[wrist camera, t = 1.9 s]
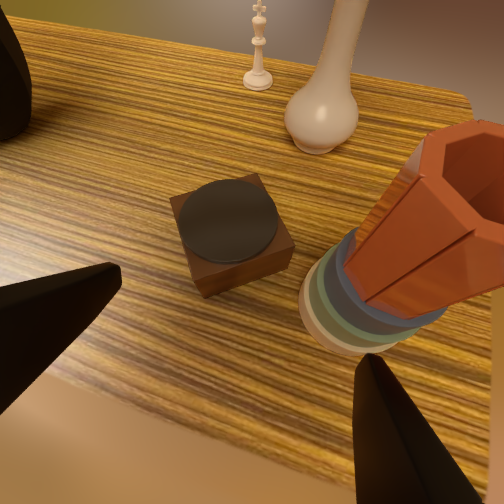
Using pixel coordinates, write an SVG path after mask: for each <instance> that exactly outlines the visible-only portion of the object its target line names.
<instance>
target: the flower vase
mask: <svg viewBox="0 0 504 504" xmlns="http://www.w3.org/2000/svg"><path fill="white" fill-rule="evenodd" d="M368 3H369V0H335V2H334V6H333V10H332V14H331V18H330V22H329V26H328V30H327V34H326V38H325V42H324V46H323V49H322V53H321V56H320V59H319V62H318V64H317V66H316V69H315V71H314V72H313V74H312V76H311V78H310V79H309V81H308V82H307V83H306V84H305V85H304V86H303V87H301V88H300V89H299V90H298V91H297V92H296V93H295V94H294V95H293V96H292V97H291V98H290V100H289V102H288V104H287V107H286V109H285V112H284V123H285V126H286V128H287V131H288V133H289V134H290V135H291V137H292V138H293V141H294V143H295V145H296V146H297V147H298V148H299V149H300V150H302V151H304V152H306V153H309V154H325V153H327V152H330V151H331V150H332V149H334V148H335V146H338V145H340V144H342V143H343V142H345V141H346V140H347V139H349V138H350V137H351V136H352V134H353V133H354V131H355V130H356V128H357V123H358V117H359V110H358V106H357V102H356V99H355V97H354V96H353V94H352V92H351V86H350V72H351V65H352V60H353V55H354V52H355V48H356V44H357V41H358V37H359V34H360V30H361V26H362V23H363V20H364V16H365V13H366V9H367V6H368Z"/></svg>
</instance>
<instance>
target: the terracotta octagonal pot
mask: <svg viewBox="0 0 504 504" xmlns="http://www.w3.org/2000/svg"><path fill="white" fill-rule="evenodd" d="M343 267H344V269H343V270H344V272H345V274H346V275H347V277H348V279H349V280H350V282H351V284H352V285H353V287H354V289H355V290H356V292H357V294H358V295H359V297H360V299H361V300H362V302H364V301H366V305H369V306H371V307H374V308H376V309H378V310H381V311H383V312H386V313H388V314H391V315H393V316H396V317H398V318H401V319H403V320H406V319H407V320H411V319H414V318H416V317H419V316H422V315H425V314H428V313H430V312H433V311H436V310H439V309H442V308H445V307H447V306H450V305H453V304H456V303H459V302H461V301H464V300H467V299H470V298H473V297H476V296H478V295H481V294H484V293H487V292H490V291H492V290H495V289H498V288H501V287H504V125H501V124H497V123H493V122H489V121H484V120H478V121H476V120H469V121H466V122H463V123H459V124H456V125H452V126H449V127H445V128H442V129H439V130H435V131H432V132H429V133H428V134H427V135H426V136H425V137H424V138H423V139H422V141H421V142H420V144H419V145H418V146H417V148H416V149H415V151H414V152H413V153H412V155H411V156H410V157H409V159H408V160H407V162H406V163H405V164H404V166H403V167H402V169H401V170H400V171H399V173H398V174H397V175H396V177H395V178H394V180H393V181H392V182H391V184H390V185H389V187H388V188H387V189H386V191H385V192H384V193H383V195H382V196H381V198H380V199H379V200H378V202H377V203H376V205H375V206H374V207H373V209H372V210H371V211H370V213H369V214H368V216H367V217H366V218H365V220H364V221H363V223H362V224H361V225H360V227H359V228H358V229H357V231H356V232H355V234H354V235H353V236H352V238H351V240H350V243H349V246H348V250H347V253H346V256H345V260H344V263H343Z"/></svg>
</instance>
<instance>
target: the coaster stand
mask: <svg viewBox="0 0 504 504" xmlns="http://www.w3.org/2000/svg"><path fill="white" fill-rule="evenodd" d="M169 199H170V202H171V206H172V209H173V213H174V216H175V220H176V223H177V227H178V230H179V234H180V237H181V240H182V244H183V247H184V251H185V254H186V258H187V261H188V265H189V268H190V272H191V275H192V279H193V281H194V283H195V285H196V286H197V288H198V289H199V291H200V293H201V294H202V296H203V298H204V299H205V298H208V297H210V296H213V295H216V294H219V293H221V292H224V291H227V290H230V289H232V288H235V287H238V286H241V285H243V284H246V283H249V282H252V281H254V280H257V279H260V278H263V277H266V276H268V275H271V274H274V273H277V272H279V271H282V270H285V269H288V266H289V263H290V260H291V257H292V254H293V251H294V248H295V244H294V242H293V240H292V238H291V236H290V235H289V233H288V231H287V229H286V227H285V225H284V223H283V221H282V219H281V218H280V216H279V214H278V212H277V208H276V206H275V204H274V202H273V200H272V199H271V197H270V196H269V195H268V193H267V191H266V189H265V187H264V185H263V183H262V182H261V180H260V178H259V176H258V174H257V173H255V174H251V175H248V176H244V177H241V178H237V179H225V180H218V181H214V182H211V183H208V184H206V185H204V186H202V187H200V188H198V189H197V190H195V191H192V192H188V193H185V194H181V195H178V196H174V197H171V198H169Z"/></svg>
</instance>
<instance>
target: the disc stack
mask: <svg viewBox="0 0 504 504" xmlns="http://www.w3.org/2000/svg"><path fill="white" fill-rule="evenodd" d="M359 227H360V226H359ZM359 227H357V228H355V229H353V230H352V231H350V232H349V233H348V234H347V235H346V236H345V237H344V238H343V239H342V241H341V242H340V243H337V244H336V245H334V246H333V247H331V248H330V249H329V250H328V251H327V252H326V253H325V254H324V256H323V257H322V258H320V259H319V260H318V261H317V262H316V263H315V264H314V265H313V266H312V267H311V269H310V270H309V272H308V274H307V276H306V278H305V279H304V281H303V283H302V285H301V288H300V291H299V297H298V306H299V312H300V316H301V319H302V321H303V323H304V325H305V327H306V329H307V330H308V332H309V333H310V334H311V336H312V337H313V338H314V339H315V340H316V341H317V342H319V343H320V344H321V345H322V346H324V347H325V348H327V349H329V350H331V351H333V352H335V353H338V354H342V355H346V356H361V355H365V354H366V353H377V352H382V351H384V350H387V349H389V348H391V347H393V346H394V345H395V344H397V343H398V342H399V341H402V340H405V339H407V338H409V337H411V336H412V335H414V334H415V333H416V332H417V331H418V330H419V329H420V328H421V327H422V326H425V325H427V324H430V323H432V322H434V321H435V320H437V319H438V318H439V317H441V316H442V315H443V313H444V312H445V311H446V309H447V308H448V306H447V307H445V308H442V309H439V310H436V311H433V312H430V313H428V314H425V315H422V316H419V317H416V318H414V319H411V320H407V319H406V320H403V319H401V318H398V317H396V316H393V315H391V314H388V313H386V312H383V311H381V310H378V309H376V308H374V307H371V306H369V305H366V301H364V302H362V300H361V299H360V297H359V295H358V294H357V292H356V290H355V289H354V287H353V285H352V284H351V282H350V280H349V279H348V277H347V275H346V274H345V272H344V270H343V269H344V267H343V263H344V260H345V256H346V253H347V250H348V246H349V243H350V240H351V238H352V236H353V235H354V234H355V232H356V231H357V229H358V228H359Z"/></svg>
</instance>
